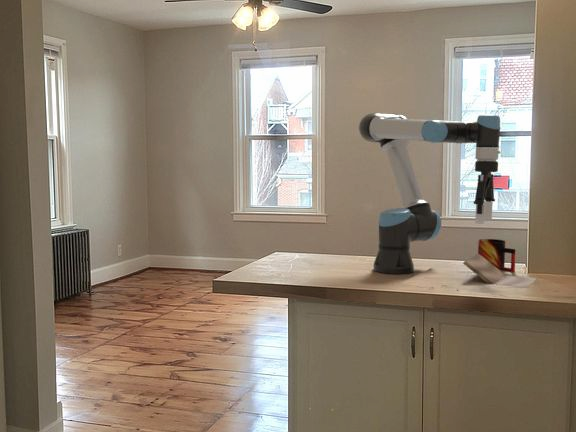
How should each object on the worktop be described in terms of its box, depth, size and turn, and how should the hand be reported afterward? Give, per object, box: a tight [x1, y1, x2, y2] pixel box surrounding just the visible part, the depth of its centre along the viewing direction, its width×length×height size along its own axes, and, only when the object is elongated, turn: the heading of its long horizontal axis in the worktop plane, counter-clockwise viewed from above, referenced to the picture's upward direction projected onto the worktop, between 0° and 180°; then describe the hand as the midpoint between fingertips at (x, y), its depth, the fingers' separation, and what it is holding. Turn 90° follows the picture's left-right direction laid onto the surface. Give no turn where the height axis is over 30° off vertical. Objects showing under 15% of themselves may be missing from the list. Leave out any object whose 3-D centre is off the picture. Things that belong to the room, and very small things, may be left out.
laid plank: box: [495, 274, 537, 289], centre depth 205 cm, size 10×18×1 cm, turn 149°
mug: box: [477, 238, 516, 273], centre depth 228 cm, size 10×14×12 cm
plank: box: [462, 253, 507, 285], centre depth 210 cm, size 12×18×1 cm
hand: (483, 221), depth 211 cm, fingers open, 13 cm apart
